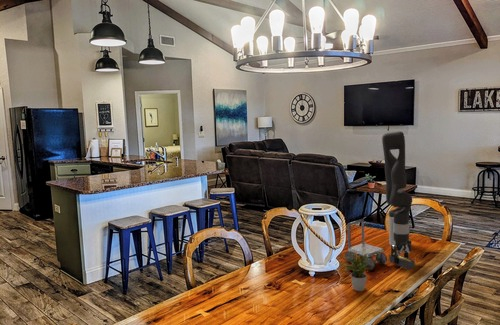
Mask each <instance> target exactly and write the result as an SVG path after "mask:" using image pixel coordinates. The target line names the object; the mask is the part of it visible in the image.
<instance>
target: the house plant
mask: <svg viewBox="0 0 500 325" xmlns="http://www.w3.org/2000/svg"><path fill="white" fill-rule="evenodd" d="M352 254H353V259H354V261H355V262H353V261H352V260H351V259H350V258H348V257H346V258H345V255H342V257H343V258H345V260H346V259H347V258H348V259H350V260H351V261H352V262H351V263H350V264H347V263H340V264H341V265H343V266H344V267H345V268H344V271H343V272H345V271H348V270H350V271H351V272H352V273H350V279H351V285H352V289H353V290H354V291H357V292H362V291H365V290H366V283H367V274H366V273H364V272H366V271H367V270H368V269H367V267H365V266H366V264H367V263H368V262H366V263H365V261H366V259H367V258H366V259H365V257H366V256H367V254H368V253H366V254H365V255H363V256H362V258H360V255H356V257H355V255H354V254H355V253H353V252H352ZM367 257H368V256H367ZM364 259H365V261H364ZM368 260H369V259H368ZM368 260H367V261H368ZM363 262H364V263H365V265H364V263H363Z"/></svg>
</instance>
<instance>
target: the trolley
mask: <svg viewBox="0 0 500 325" xmlns="http://www.w3.org/2000/svg"><path fill="white" fill-rule="evenodd" d="M358 223H360V224H361V243H359V244H356V245H353V246H352V241H351V239H352V237H351V236H352V233H351V232H352V231H351V225H355V224H358ZM347 248H348V250H347V251H346V252H345V254H344V256H345V257H344V259H345V261H347V262H348V263H349V264H352V263H351V262H352V261H353V262H354V263H355V261H354V259H353V254H352V252H353V253H354V255H355V257H356V255H357V256H359V255H360V259H361V258H362V256H363V255H365V254H366V253H368V254H367V256H368V257H367V256H366V257H365V259H366V258H367V259H366V261H365V259H364V261H365V263H366V262H368V263H367V264H366V266H365V267H367V268H366V269H367V270H373V269H374V268H375V265H376V263H375V262H377V263H378V264H379V265H384V264H386V263H388V256H387V255H386V253H384V248H381V247H379V246H374V245H370V244H367V243H365V219H364V218H361V219H358V220H354V221H351V222H348V223H347ZM373 256H375V259H374V258H373ZM346 257H348V258H350V259H351V260H352V261H351V260H350V259H348V258H347V259H346ZM356 258H357V257H356ZM368 259H369V260H368ZM367 260H368V261H367ZM363 263H364V262H363ZM365 263H364V265H365Z"/></svg>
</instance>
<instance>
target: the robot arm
mask: <svg viewBox="0 0 500 325" xmlns="http://www.w3.org/2000/svg"><path fill="white" fill-rule="evenodd" d="M405 138H406V137H405V134H404V132H403V131H392V132H391V131H389V132H384V133H383V134H382V136H381V140H382V141H381V142H382V150H383V158H384V174H385V201H386V203H387V204H388V205H390V206H391V207H394V208H395V209H391V210H389V212H388V236H389V238H388V239H389V240H388V242H389V245H390V254H391V256H392V257H394V263H395V264H394V263H393V264H394V265H396V266H398V265H399V255H402V252H403V256H404V257H406V258H409V259H410V255H409V254H410V253H411V252H412V240H410V225H409V220H410V219H409V217H410V216H409V215H410V210H411V207H412V205H413V197H412V195H411V194H410V193H408V192H406V191H405V189H406V187H407V183H408V182H407V176H406V139H405ZM393 150H398V156H397V157H395V156H394V154H393V153H392V152H391V151H393Z"/></svg>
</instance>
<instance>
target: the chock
mask: <svg viewBox="0 0 500 325" xmlns="http://www.w3.org/2000/svg"><path fill="white" fill-rule="evenodd" d="M388 257H389V258H388V262H390V263H391V264H394V265H396V264H395V263H394V257H392V256H391V253H390V254H389V255H388ZM397 266H398V267H401V268H403V269H406V270H409V271H410V270H412V269H415V260H413V259H411V258H410V257H409V258H406V257H404V255H402V254H400V255H399V265H397Z"/></svg>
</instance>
